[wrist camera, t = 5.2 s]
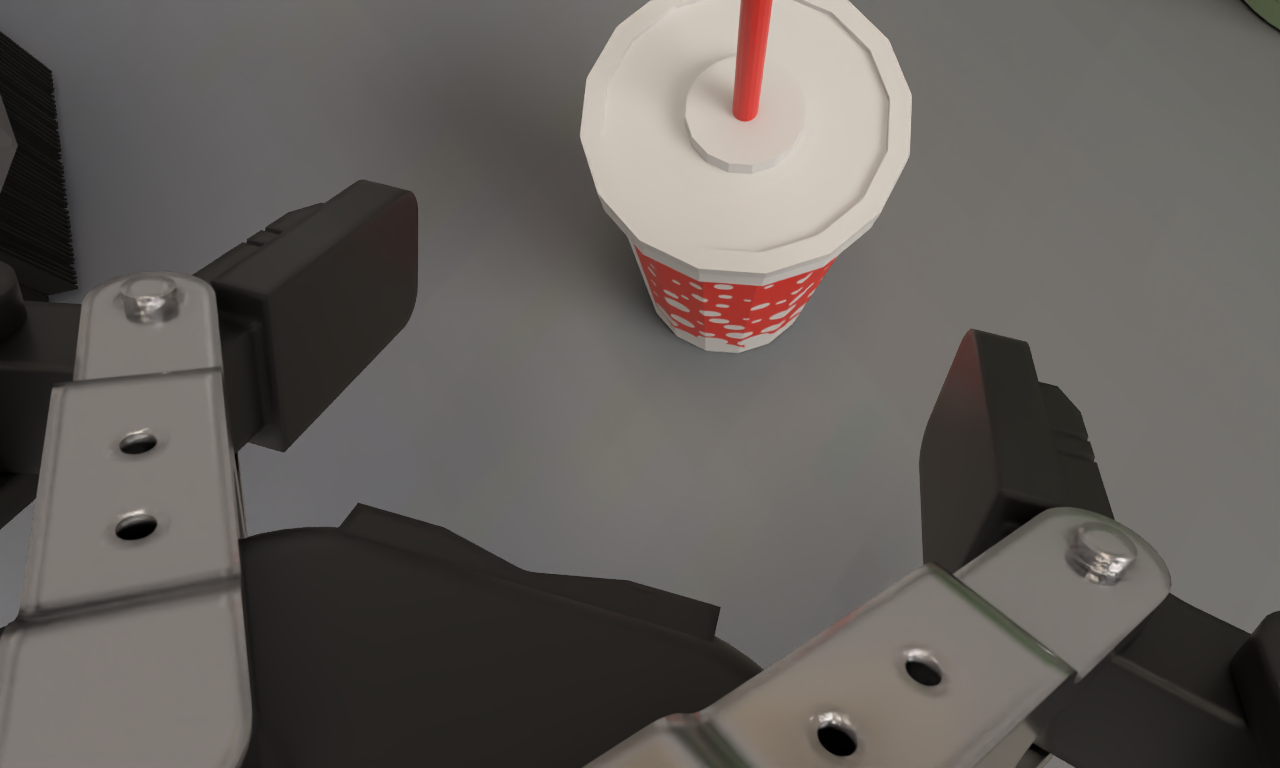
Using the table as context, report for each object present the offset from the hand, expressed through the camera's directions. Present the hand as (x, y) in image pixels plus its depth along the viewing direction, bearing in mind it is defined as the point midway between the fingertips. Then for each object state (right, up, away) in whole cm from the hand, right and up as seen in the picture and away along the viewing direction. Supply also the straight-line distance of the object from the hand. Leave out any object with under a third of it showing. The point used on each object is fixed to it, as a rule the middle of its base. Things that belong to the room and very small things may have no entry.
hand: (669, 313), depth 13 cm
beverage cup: (+2, +2, +13) cm, 13 cm away
